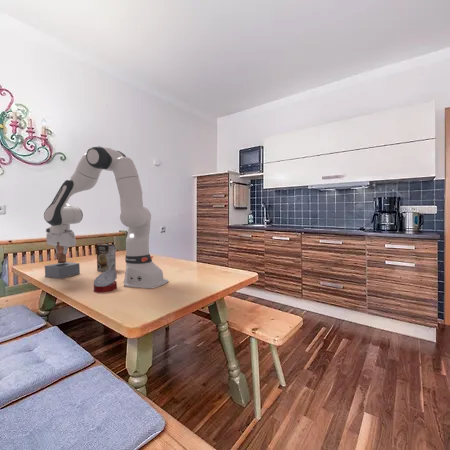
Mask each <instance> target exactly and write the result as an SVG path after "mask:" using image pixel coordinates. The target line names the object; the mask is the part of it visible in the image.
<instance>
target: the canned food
mask: <svg viewBox="0 0 450 450" xmlns="http://www.w3.org/2000/svg"><path fill="white" fill-rule="evenodd" d="M117 275H118V274H117V272H116V270H108V271H102V273H100V274H98V275H97V276H96V277H95V278H94V281H93V292H94V293H99V294H100V293H102V294H103V293H110V292H113V291H115V290H117V288H118V283H117V281H116V279H117Z"/></svg>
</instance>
